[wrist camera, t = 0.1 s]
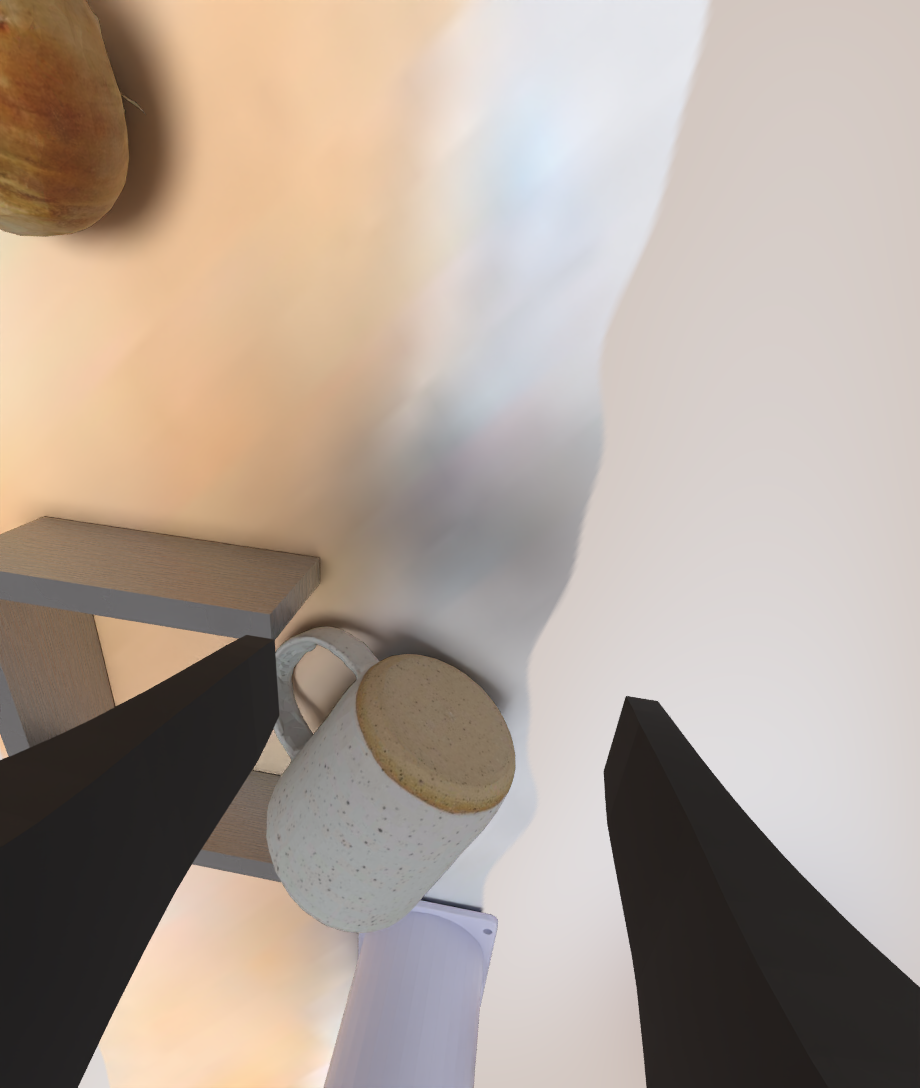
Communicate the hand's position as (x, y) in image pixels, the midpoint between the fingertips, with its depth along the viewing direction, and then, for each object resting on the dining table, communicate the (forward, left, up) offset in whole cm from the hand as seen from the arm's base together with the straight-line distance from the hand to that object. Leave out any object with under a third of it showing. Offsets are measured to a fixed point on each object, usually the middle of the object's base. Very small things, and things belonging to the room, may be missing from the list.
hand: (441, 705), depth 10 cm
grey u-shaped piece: (-10, +12, -10) cm, 19 cm away
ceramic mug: (-10, +3, -10) cm, 15 cm away
